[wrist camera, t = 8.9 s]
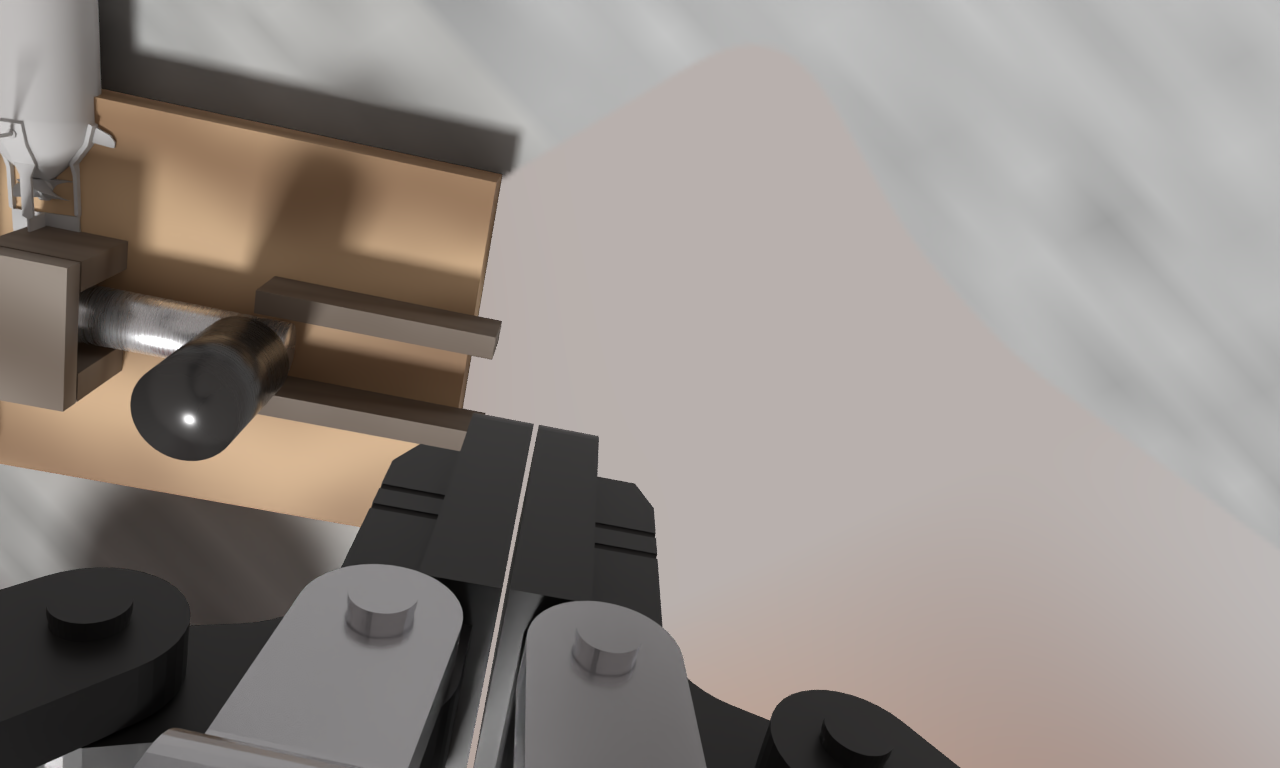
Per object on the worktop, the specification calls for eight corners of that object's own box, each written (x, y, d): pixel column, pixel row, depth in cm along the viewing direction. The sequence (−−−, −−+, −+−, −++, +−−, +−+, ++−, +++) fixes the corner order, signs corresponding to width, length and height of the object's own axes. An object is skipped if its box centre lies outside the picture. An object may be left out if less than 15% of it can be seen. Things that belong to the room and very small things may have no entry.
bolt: (33, 250, 34) (-113, 307, 27) (314, 305, 35) (242, 374, 28) (31, 332, 35) (-110, 407, 28) (305, 384, 36) (233, 469, 29)
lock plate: (-81, 49, 34) (-223, 54, 28) (529, 180, 36) (514, 209, 30) (-73, 423, 38) (-194, 493, 33) (468, 520, 40) (445, 602, 35)
